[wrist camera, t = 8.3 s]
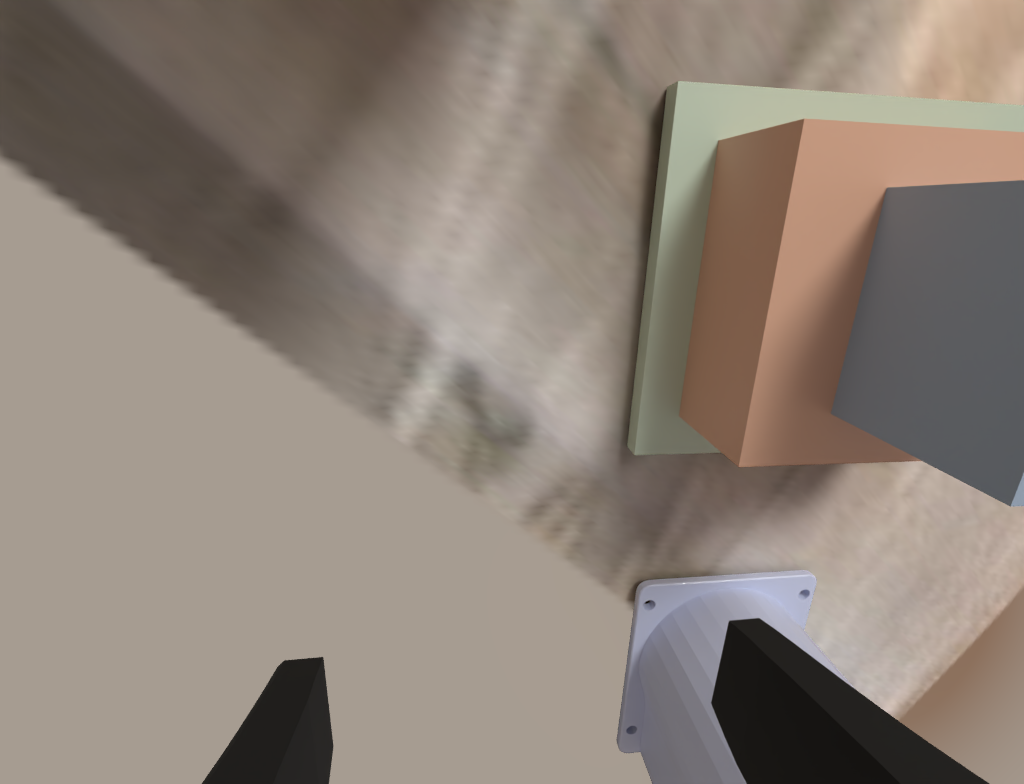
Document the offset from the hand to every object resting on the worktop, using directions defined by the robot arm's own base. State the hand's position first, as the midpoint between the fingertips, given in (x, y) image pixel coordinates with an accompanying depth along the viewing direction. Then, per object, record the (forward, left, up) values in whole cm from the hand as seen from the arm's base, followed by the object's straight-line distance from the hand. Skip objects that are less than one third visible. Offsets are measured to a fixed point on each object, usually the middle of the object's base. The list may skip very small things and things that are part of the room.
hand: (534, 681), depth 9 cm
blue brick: (+6, -11, -6) cm, 14 cm away
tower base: (+6, -11, -10) cm, 16 cm away
